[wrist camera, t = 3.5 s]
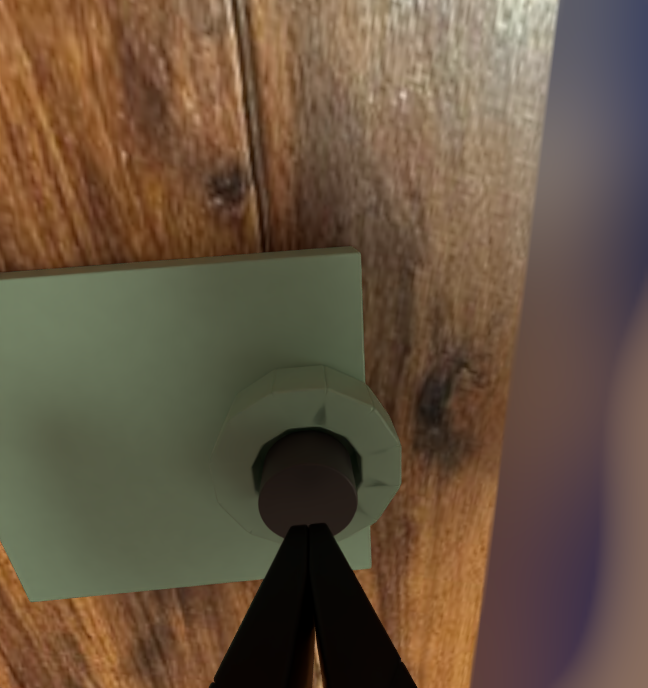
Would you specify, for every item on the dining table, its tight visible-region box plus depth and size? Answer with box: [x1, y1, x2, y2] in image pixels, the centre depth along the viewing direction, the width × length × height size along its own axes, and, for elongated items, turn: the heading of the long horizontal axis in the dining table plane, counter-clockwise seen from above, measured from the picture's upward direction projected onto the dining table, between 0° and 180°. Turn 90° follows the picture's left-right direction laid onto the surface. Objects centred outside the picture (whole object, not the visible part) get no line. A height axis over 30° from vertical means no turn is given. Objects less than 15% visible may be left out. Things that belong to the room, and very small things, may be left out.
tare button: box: [258, 430, 358, 538], centre depth 10 cm, size 3×3×2 cm
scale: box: [0, 246, 401, 602], centre depth 12 cm, size 14×12×4 cm
